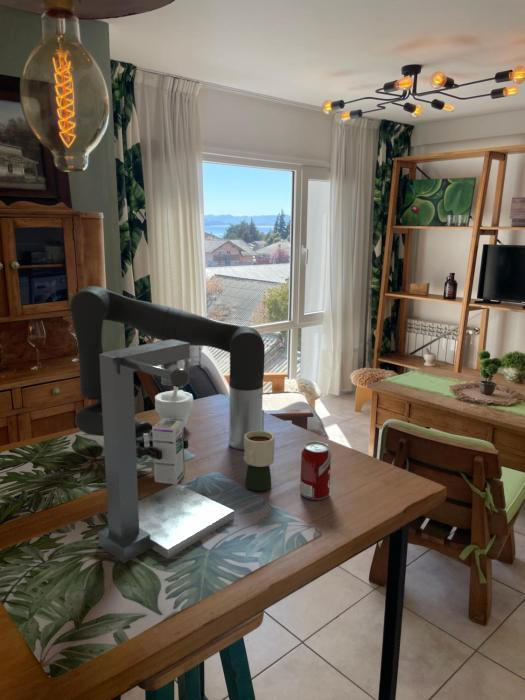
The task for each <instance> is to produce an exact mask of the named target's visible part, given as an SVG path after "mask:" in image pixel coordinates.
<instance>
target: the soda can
mask: <svg viewBox="0 0 525 700" xmlns="http://www.w3.org/2000/svg"><path fill="white" fill-rule="evenodd" d="M329 449H330V446H329V445H328V444H327V443H324V442H321V441H309V442H307V443H305V444H304V449H303V450H302V451H301V455H300V456H301V461H300V481H299V483H300V484H299V493H300V495H302V496H303V497H305V498H307V499H309V500H313V501H314V500H315V501H319V500H323V499H326V498H328V496H329V495H330V486H331V484H330V483H331V472H332V471H331V469H332V452H331V450H329Z"/></svg>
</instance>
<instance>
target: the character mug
mask: <svg viewBox="0 0 525 700" xmlns="http://www.w3.org/2000/svg"><path fill="white" fill-rule="evenodd" d="M275 441H276V439H275V435H274V434H273V433H271V432H270V431H266V430H264V431H251V432H248V433H246V434H245V435H244V448H245V450H243V451H244V453H243V460H244V462H245V463H246V464H247V469H246V475H245V483H244V485H245V488H247V490H251V491H266V490H270V488H271V487H272V477H271V476H272V474H271V468H270V466H271V465H272V464H273V463H274V460H275V443H276V442H275Z"/></svg>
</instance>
